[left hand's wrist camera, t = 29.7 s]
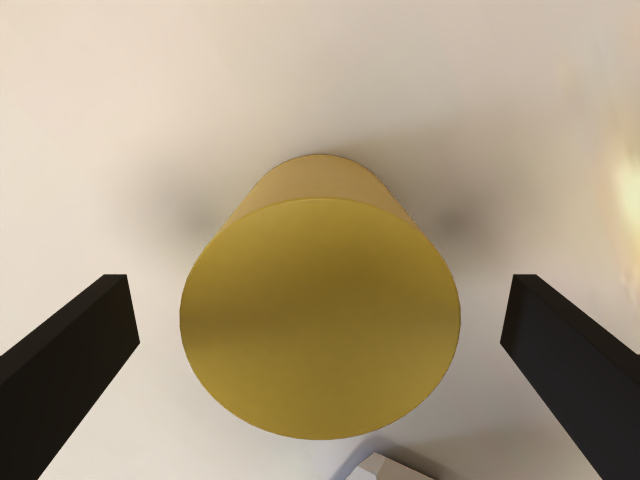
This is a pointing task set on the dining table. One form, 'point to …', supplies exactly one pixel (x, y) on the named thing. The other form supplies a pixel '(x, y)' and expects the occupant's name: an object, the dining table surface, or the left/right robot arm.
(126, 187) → the dining table surface
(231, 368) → the canister
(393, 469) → the electronic device
